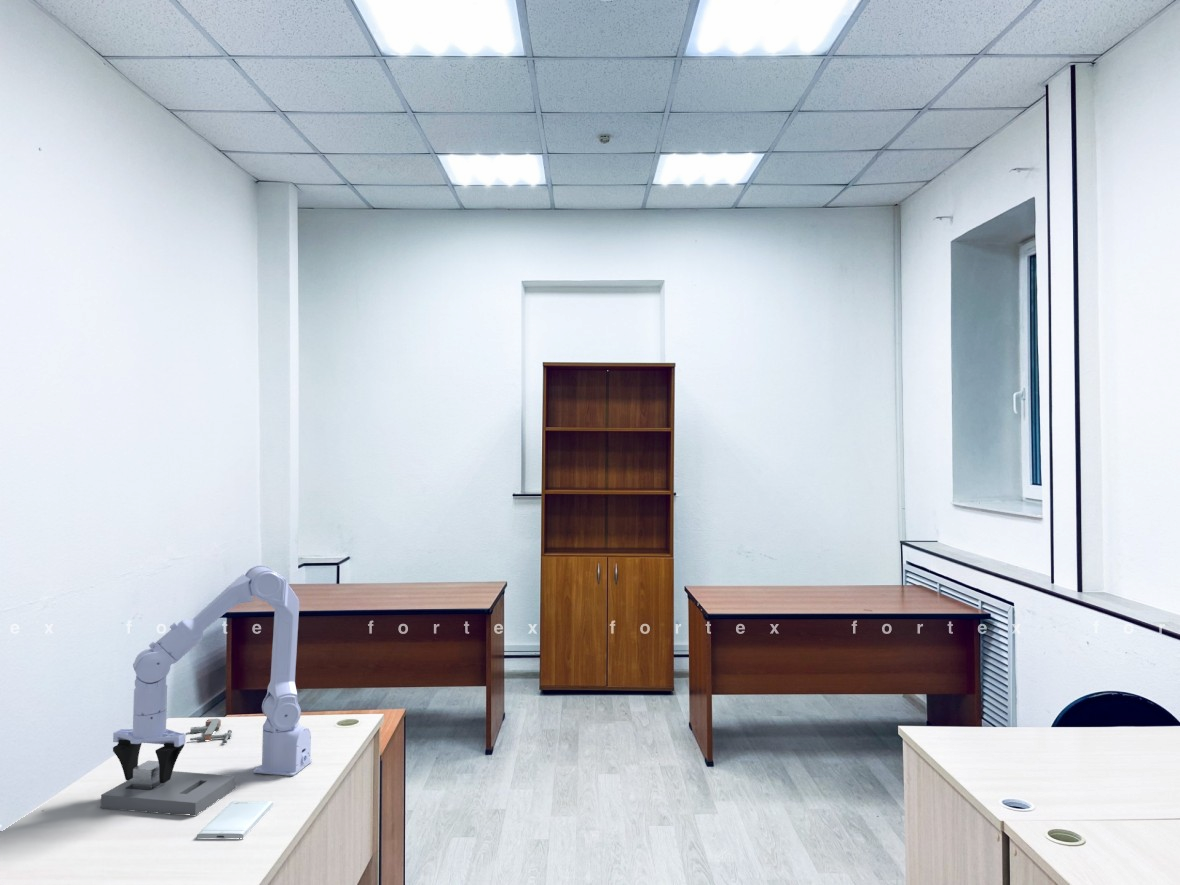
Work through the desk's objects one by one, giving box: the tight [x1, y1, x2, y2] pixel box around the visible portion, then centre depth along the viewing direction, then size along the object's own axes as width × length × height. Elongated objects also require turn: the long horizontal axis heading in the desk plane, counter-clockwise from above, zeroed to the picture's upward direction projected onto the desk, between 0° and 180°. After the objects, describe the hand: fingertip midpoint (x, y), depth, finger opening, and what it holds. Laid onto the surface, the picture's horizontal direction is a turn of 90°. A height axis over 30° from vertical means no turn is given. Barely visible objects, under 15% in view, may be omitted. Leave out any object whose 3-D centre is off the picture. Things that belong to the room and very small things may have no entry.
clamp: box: [189, 718, 233, 744], centre depth 176 cm, size 15×2×10 cm
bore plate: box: [100, 770, 237, 816], centre depth 143 cm, size 20×12×2 cm, turn 82°
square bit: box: [133, 760, 162, 791], centre depth 144 cm, size 4×4×6 cm
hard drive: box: [196, 800, 274, 840], centre depth 134 cm, size 2×8×12 cm
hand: (148, 779), depth 144 cm, fingers open, 7 cm apart
